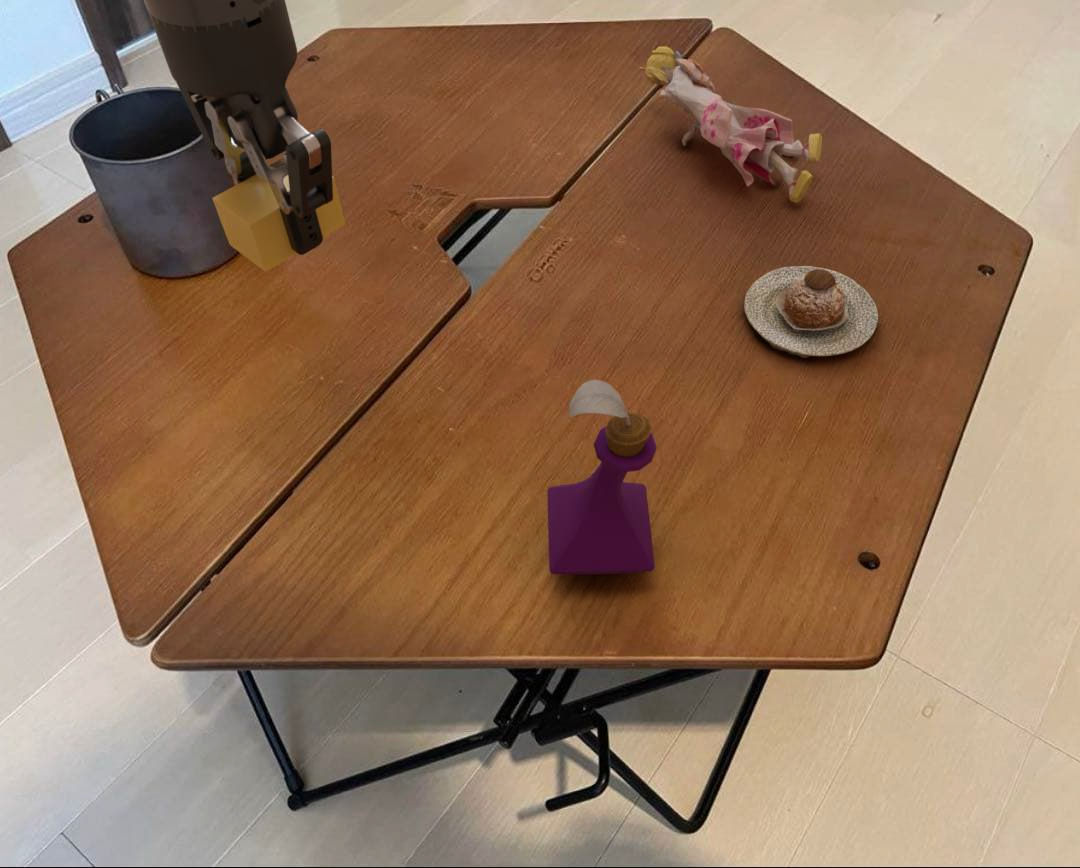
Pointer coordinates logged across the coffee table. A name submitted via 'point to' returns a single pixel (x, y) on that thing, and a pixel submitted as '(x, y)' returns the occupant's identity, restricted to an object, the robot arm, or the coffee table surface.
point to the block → (266, 221)
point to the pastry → (810, 311)
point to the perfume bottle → (604, 495)
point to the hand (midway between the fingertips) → (287, 231)
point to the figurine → (733, 123)
